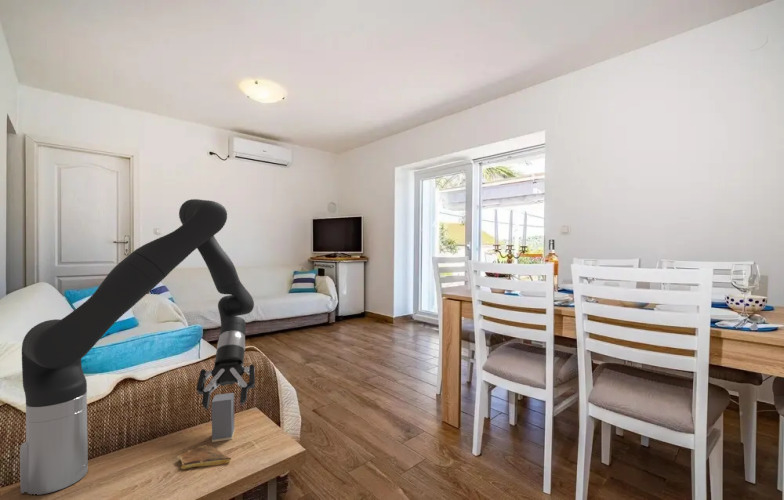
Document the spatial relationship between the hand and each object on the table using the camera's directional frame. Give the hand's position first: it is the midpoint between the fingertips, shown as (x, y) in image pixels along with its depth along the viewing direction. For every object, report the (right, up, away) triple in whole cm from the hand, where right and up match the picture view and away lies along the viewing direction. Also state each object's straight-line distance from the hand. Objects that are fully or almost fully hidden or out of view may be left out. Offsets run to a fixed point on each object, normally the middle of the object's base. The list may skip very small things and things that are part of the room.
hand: (224, 405), depth 92 cm
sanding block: (+1, -7, -2) cm, 7 cm away
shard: (+1, -8, -11) cm, 13 cm away
